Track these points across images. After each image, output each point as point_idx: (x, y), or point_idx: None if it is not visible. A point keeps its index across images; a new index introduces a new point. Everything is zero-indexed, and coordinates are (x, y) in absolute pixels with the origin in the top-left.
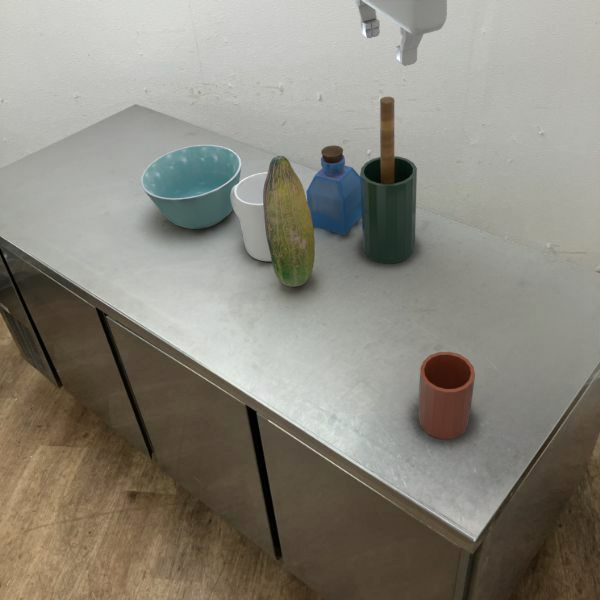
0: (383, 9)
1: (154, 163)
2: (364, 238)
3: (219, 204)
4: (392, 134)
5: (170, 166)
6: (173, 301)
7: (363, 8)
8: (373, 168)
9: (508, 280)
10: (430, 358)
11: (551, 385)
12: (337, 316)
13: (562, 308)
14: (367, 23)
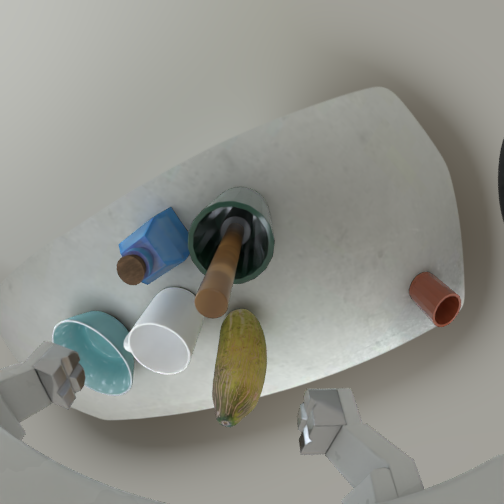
0: None
1: None
2: None
3: None
4: (234, 268)
5: None
6: (212, 387)
7: (20, 410)
8: (196, 244)
9: (353, 145)
10: (434, 315)
11: (446, 208)
12: (301, 304)
13: (403, 136)
14: (65, 405)
